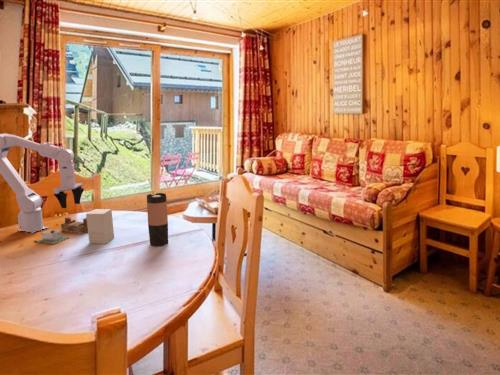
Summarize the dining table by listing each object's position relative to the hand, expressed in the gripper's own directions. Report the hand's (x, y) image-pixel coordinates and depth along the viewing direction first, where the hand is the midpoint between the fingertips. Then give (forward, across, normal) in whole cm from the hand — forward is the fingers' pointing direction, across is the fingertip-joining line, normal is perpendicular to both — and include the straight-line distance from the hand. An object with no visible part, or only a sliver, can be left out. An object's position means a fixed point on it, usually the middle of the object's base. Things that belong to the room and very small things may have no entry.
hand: (70, 205), depth 155 cm
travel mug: (+11, -4, -48) cm, 49 cm away
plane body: (+10, -2, -4) cm, 12 cm away
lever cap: (+10, -15, -4) cm, 18 cm away
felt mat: (+10, -15, -4) cm, 19 cm away
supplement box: (+11, -9, -24) cm, 28 cm away
